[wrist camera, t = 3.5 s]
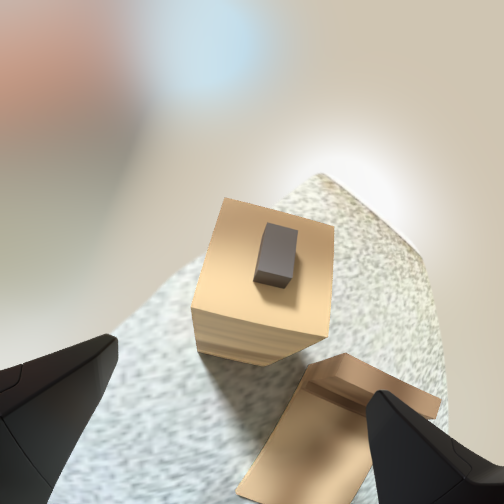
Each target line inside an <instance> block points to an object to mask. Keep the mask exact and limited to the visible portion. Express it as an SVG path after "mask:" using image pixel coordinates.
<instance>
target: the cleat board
mask: <svg viewBox="0 0 504 504" xmlns="http://www.w3.org/2000/svg"><path fill="white" fill-rule="evenodd" d="M377 390H388V391H390V392H391V393H392V394H394V395H395V396H396V397H398V398H399V399H400V400H402V401H403V402H404V403H406V404H407V405H408V406H410V407H411V408H412V409H414V410H415V411H416V412H418V413H419V414H420V415H422V416H423V417H424V418H426V419H427V420H428V419H436V416H437V413H438V410H439V407H440V403H441V400H442V399H440V398H438V397H435V396H433V395H431V394H429V393H427V392H424V391H422V390H420V389H418V388H416V387H414V386H412V385H409V384H407V383H405V382H403V381H401V380H399V379H397V378H395V377H393V376H391V375H389V374H387V373H385V372H383V371H381V370H379V369H377V368H375V367H373V366H371V365H369V364H367V363H365V362H363V361H361V360H359V359H357V358H355V357H353V356H351V355H349V354H347V353H343V354H340V355H337V356H334V357H331V358H328V359H325V360H322V361H319V362H316V363H313V364H310V365H308V367H307V369H306V371H305V373H304V375H303V377H302V379H301V381H300V383H299V385H298V387H297V389H296V391H295V393H294V395H293V396H292V398H291V400H290V402H289V404H288V406H287V408H286V409H285V411H284V413H283V415H282V417H281V418H280V420H279V422H278V424H277V425H276V427H275V429H274V431H273V432H272V434H271V436H270V437H269V439H268V441H267V442H266V444H265V446H264V447H263V449H262V450H261V452H260V454H259V455H258V457H257V458H256V460H255V461H254V463H253V465H252V466H251V468H250V469H249V471H248V472H247V474H246V475H245V477H244V478H243V480H242V481H241V482H240V484H239V485H238V487H237V488H236V490H235V492H236V494H237V495H240V496H243V497H245V498H248V499H251V500H254V501H256V502H259V503H262V504H350V503H351V501H352V499H353V498H354V496H355V495H356V493H357V491H358V489H359V488H360V486H361V484H362V483H363V481H364V479H365V477H366V475H367V473H368V472H369V470H370V468H371V466H372V458H371V453H370V448H369V441H368V430H367V420H366V406H367V404H368V402H369V401H370V399H371V398H372V396H373V395H374V393H375V392H376V391H377Z"/></svg>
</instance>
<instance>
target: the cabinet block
mask: <svg viewBox="0 0 504 504" xmlns="http://www.w3.org/2000/svg"><path fill="white" fill-rule="evenodd" d="M333 257H334V226H330V225H327V224H324V223H320V222H317V221H313V220H310V219H306V218H302V217H299V216H295V215H292V214H288V213H284V212H280V211H277V210H273V209H269V208H265V207H261V206H257V205H253V204H250V203H245V202H241V201H238V200H233V199H229V198H224V201H223V204H222V207H221V210H220V213H219V216H218V219H217V222H216V225H215V228H214V231H213V235H212V238H211V241H210V244H209V247H208V250H207V254H206V257H205V260H204V263H203V267H202V270H201V273H200V277H199V280H198V283H197V287H196V290H195V294H194V297H193V301H192V304H191V313H192V320H193V327H194V333H195V339H196V346H197V352H201V353H205V354H209V355H213V356H217V357H221V358H225V359H230V360H234V361H239V362H244V363H248V364H253V365H259V366H264V367H265V366H268V365H270V364H272V363H274V362H277V361H279V360H281V359H283V358H286V357H288V356H290V355H292V354H294V353H297V352H299V351H301V350H303V349H305V348H307V347H309V346H311V345H313V344H315V343H317V342H319V341H321V340H323V339H325V338H327V337H328V332H329V321H330V309H331V295H332V279H333Z"/></svg>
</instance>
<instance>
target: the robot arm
mask: <svg viewBox="0 0 504 504" xmlns="http://www.w3.org/2000/svg"><path fill="white" fill-rule="evenodd" d="M117 361H118V339H117V338H116V337H115V336H112V335H109V334H103V335H101V336H98V337H95V338H92V339H90V340H87V341H84V342H82V343H79V344H76V345H73V346H71V347H68V348H65V349H62V350H59V351H57V352H54V353H51V354H48V355H45V356H43V357H40V358H37V359H34V360H31V361H28V362H25V363H23V364H19V365H16V366H14V367H11V368H7V369H4V370H0V504H47V502H48V500H49V497H50V495H51V493H52V491H53V489H54V487H55V484H56V482H57V480H58V478H59V476H60V474H61V472H62V470H63V468H64V466H65V464H66V462H67V460H68V459H69V457H70V455H71V453H72V451H73V449H74V447H75V445H76V443H77V441H78V440H79V438H80V436H81V434H82V432H83V430H84V429H85V427H86V425H87V423H88V421H89V420H90V418H91V416H92V414H93V413H94V411H95V409H96V407H97V406H98V404H99V402H100V400H101V398H102V396H103V394H104V392H105V389H106V387H107V385H108V382H109V380H110V378H111V375H112V373H113V371H114V369H115V366H116V364H117ZM366 420H367V430H368V441H369V448H370V453H371V458H372V464H373V469H374V475H375V481H376V487H377V494H378V501H379V504H504V466H498V465H495V464H493V463H491V462H489V461H487V460H486V459H484V458H482V457H481V456H479V455H477V454H475V453H474V452H472V451H471V450H469V449H467V448H466V447H464V446H463V445H461V444H460V443H458V442H457V441H456V440H454V439H453V438H451V437H450V436H449V435H447V434H446V433H445V432H443V431H442V430H440V429H439V428H438V427H436V426H435V425H434V424H432V423H431V422H430V421H428V420H427V419H426V418H424V417H423V416H422V415H420V414H419V413H418V412H416V411H415V410H414V409H412V408H411V407H410V406H408V405H407V404H406V403H404V402H403V401H402V400H400V399H399V398H398V397H396V396H395V395H394V394H392V393H391V392H390V391H388V390H377V391H376V392H375V393H374V395H373V396H372V398H371V399H370V401H369V402H368V404H367V406H366Z"/></svg>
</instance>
